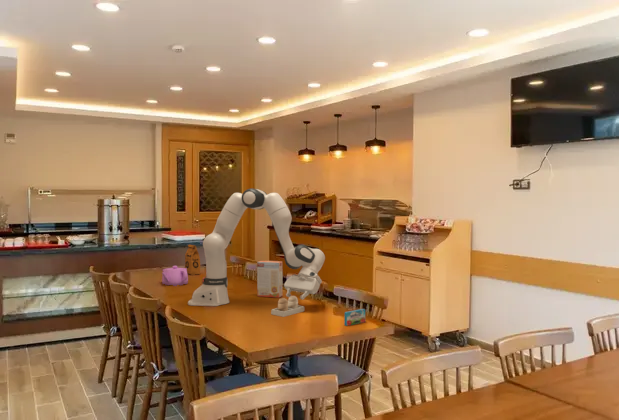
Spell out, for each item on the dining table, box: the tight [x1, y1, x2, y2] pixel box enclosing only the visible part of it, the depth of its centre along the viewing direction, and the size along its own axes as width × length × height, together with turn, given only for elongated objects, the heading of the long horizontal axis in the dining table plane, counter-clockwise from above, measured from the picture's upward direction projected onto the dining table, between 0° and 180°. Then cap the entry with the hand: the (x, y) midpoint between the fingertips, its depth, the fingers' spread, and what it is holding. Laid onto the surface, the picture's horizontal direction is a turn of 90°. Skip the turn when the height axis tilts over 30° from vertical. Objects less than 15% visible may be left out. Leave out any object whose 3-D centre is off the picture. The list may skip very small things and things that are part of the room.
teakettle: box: [161, 265, 189, 287], centre depth 341 cm, size 17×17×12 cm
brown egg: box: [277, 297, 288, 312], centre depth 254 cm, size 5×5×8 cm
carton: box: [270, 304, 305, 318], centre depth 257 cm, size 16×8×3 cm, turn 141°
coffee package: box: [184, 244, 201, 276], centre depth 384 cm, size 10×12×22 cm
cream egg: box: [287, 295, 299, 309], centre depth 260 cm, size 5×5×8 cm
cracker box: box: [256, 260, 284, 299], centre depth 301 cm, size 14×6×21 cm, turn 71°
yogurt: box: [344, 308, 366, 327], centre depth 238 cm, size 12×2×6 cm, turn 129°
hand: (294, 297), depth 261 cm, fingers open, 8 cm apart
